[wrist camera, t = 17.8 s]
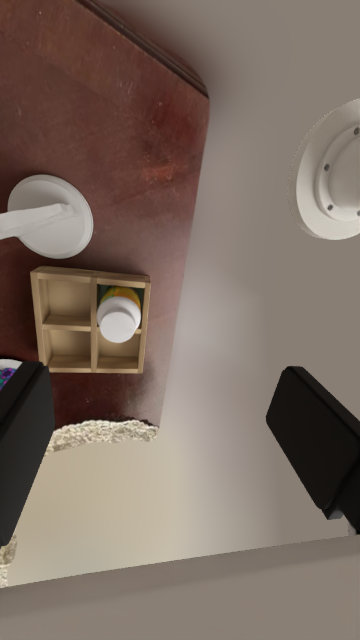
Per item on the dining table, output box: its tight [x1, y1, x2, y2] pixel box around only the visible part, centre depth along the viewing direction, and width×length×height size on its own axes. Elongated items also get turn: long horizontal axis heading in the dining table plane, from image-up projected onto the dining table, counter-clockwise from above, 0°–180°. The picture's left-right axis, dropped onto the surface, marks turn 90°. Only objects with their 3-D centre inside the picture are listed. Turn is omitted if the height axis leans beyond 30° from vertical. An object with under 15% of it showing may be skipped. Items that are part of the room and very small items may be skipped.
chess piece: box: [0, 175, 93, 259], centre depth 24 cm, size 10×10×15 cm
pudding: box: [0, 359, 22, 390], centre depth 37 cm, size 12×12×5 cm
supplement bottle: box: [97, 285, 141, 343], centre depth 31 cm, size 5×5×10 cm
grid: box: [30, 265, 151, 373], centre depth 35 cm, size 15×15×4 cm
